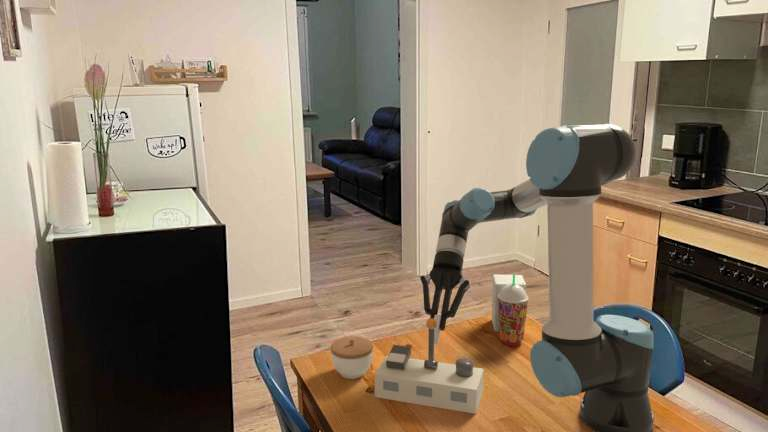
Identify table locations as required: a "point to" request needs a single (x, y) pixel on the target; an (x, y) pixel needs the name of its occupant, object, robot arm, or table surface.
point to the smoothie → (512, 313)
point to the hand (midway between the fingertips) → (434, 341)
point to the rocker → (398, 357)
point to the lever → (431, 345)
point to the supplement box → (498, 284)
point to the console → (430, 386)
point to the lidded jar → (352, 356)
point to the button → (464, 367)
